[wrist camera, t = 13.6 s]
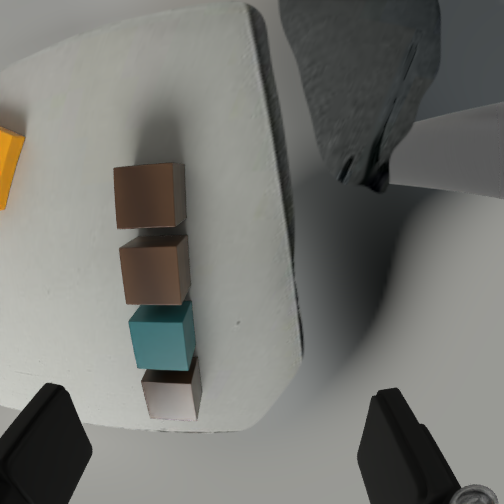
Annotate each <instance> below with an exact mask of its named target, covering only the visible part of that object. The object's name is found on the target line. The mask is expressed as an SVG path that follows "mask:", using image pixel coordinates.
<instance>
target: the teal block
mask: <svg viewBox="0 0 504 504" xmlns="http://www.w3.org/2000/svg"><path fill="white" fill-rule="evenodd" d="M129 328H130V333H131V339H132V344H133V349H134V354H135V359H136V364H137V368H140V369H156V370H179V371H188V370H189V367H190V364H191V360H192V356H193V353H194V349H195V346H196V342H195V332H194V322H193V311H192V302H191V301H183V303H182V305H140V307H139V308H138V309H137V311H136V312H135V313H134V315H133V316H132V317H131V319H130V320H129Z"/></svg>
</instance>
